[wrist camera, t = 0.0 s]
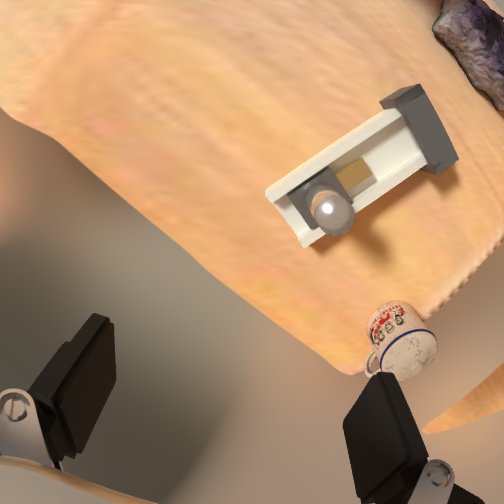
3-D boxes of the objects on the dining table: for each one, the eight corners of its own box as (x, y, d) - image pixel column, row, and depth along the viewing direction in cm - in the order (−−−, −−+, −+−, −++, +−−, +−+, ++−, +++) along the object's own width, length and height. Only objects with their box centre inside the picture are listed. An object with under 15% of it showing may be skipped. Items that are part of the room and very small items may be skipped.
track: (406, 85, 33) (425, 80, 27) (442, 151, 35) (463, 155, 30) (259, 182, 38) (258, 190, 33) (305, 245, 41) (311, 262, 36)
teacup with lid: (393, 288, 43) (425, 332, 32) (424, 315, 45) (455, 359, 34) (340, 341, 47) (357, 393, 36) (375, 363, 49) (394, 412, 38)
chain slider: (353, 148, 35) (383, 154, 25) (373, 180, 36) (407, 197, 27) (286, 193, 37) (295, 214, 28) (308, 224, 38) (323, 255, 29)
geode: (523, 87, 30) (561, 94, 21) (490, 124, 35) (529, 136, 26) (452, -14, 25) (485, -29, 16) (412, 19, 29) (444, 4, 21)
